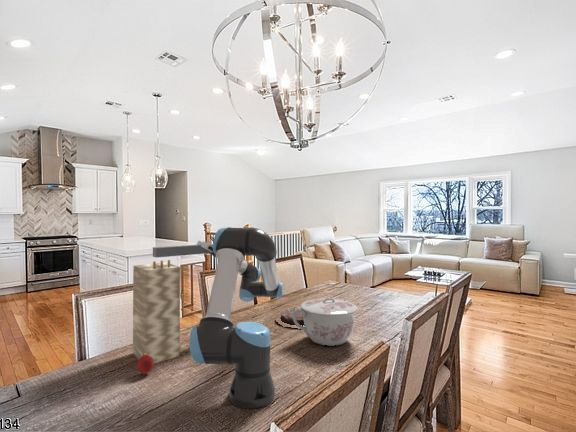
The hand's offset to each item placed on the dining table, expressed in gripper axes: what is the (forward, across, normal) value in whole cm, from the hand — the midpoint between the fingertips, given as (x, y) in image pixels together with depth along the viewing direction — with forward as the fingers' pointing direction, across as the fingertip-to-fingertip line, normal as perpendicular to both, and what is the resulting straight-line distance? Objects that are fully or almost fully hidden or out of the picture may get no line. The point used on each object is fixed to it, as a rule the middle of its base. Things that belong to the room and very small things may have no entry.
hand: (200, 243), depth 150 cm
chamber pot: (-65, +38, +17) cm, 77 cm away
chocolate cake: (-73, +8, +12) cm, 75 cm away
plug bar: (+4, 0, +8) cm, 9 cm away
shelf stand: (-6, 0, +50) cm, 51 cm away
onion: (+2, +14, +55) cm, 57 cm away
